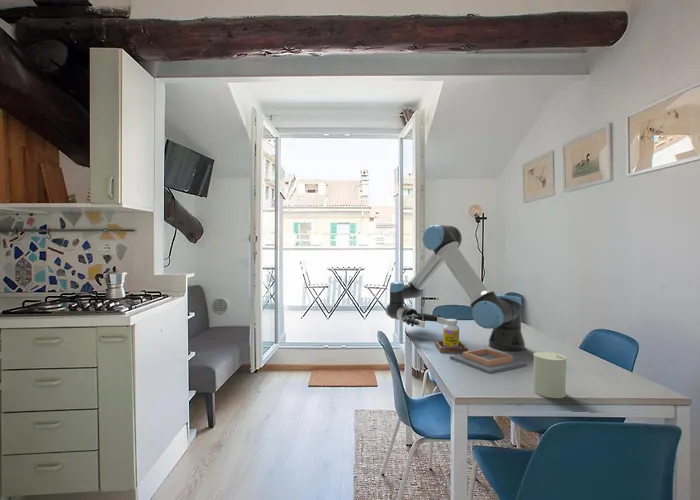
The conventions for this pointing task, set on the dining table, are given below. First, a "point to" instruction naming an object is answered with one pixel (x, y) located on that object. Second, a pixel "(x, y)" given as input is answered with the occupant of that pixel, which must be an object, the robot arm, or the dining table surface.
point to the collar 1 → (450, 350)
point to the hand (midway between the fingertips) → (435, 323)
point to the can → (549, 374)
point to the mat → (488, 368)
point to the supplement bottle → (451, 334)
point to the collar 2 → (500, 356)
